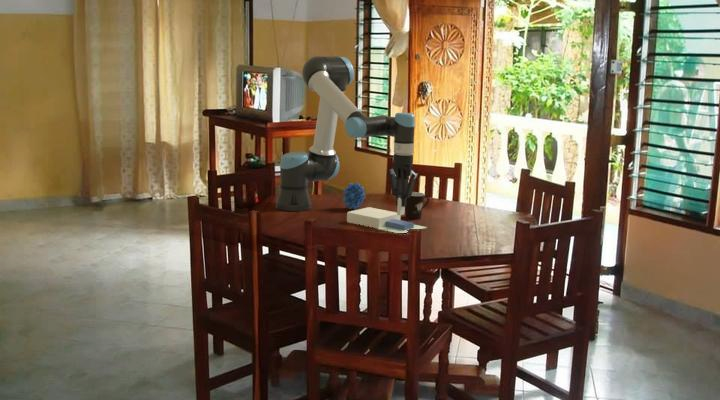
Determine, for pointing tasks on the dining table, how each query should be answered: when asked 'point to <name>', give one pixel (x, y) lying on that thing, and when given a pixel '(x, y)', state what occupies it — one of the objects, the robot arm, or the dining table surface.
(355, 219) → the cream flat block
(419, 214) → the coffee mug
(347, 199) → the grapes
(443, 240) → the dining table surface
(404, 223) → the blue rectangular block
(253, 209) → the dining table surface
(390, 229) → the mat
